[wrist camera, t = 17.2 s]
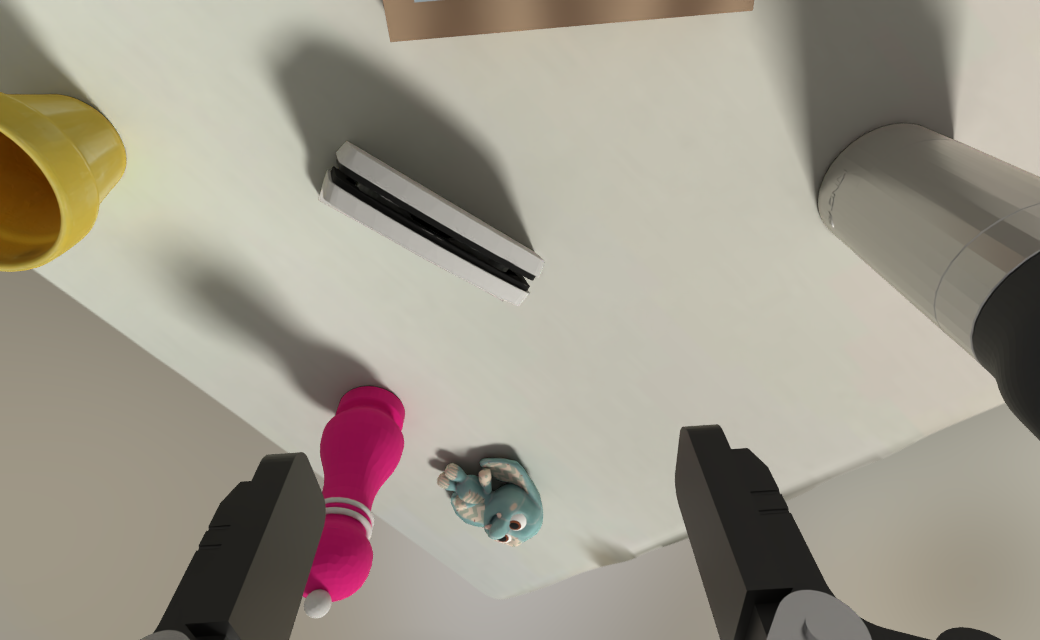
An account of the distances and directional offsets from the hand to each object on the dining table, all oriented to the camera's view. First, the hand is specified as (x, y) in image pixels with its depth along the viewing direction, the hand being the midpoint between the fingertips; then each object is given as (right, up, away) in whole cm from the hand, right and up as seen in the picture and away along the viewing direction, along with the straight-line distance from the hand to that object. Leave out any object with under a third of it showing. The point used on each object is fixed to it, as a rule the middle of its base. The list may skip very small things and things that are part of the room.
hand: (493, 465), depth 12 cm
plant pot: (-31, +16, +28) cm, 44 cm away
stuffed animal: (-2, -14, +49) cm, 51 cm away
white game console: (-6, +12, +31) cm, 34 cm away
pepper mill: (-14, -5, +42) cm, 45 cm away
